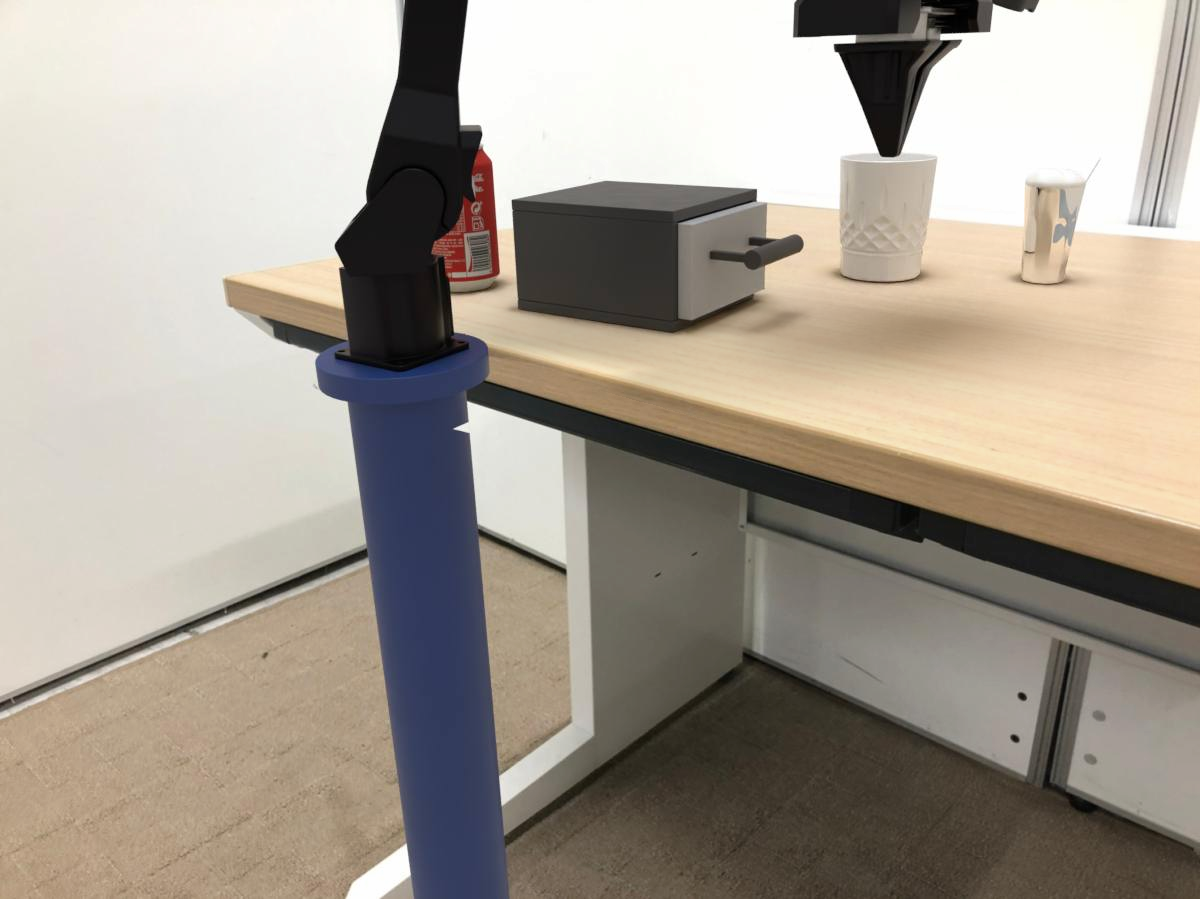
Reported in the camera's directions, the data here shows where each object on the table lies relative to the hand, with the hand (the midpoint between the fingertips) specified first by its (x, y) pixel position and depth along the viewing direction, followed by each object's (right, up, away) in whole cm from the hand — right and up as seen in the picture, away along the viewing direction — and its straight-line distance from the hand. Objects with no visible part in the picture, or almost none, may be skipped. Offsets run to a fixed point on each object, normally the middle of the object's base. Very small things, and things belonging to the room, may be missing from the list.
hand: (890, 156), depth 64 cm
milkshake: (+19, -5, +18) cm, 27 cm away
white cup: (+6, -4, +23) cm, 24 cm away
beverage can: (-31, -5, +23) cm, 39 cm away
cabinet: (-16, -7, +15) cm, 23 cm away
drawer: (-13, -7, +13) cm, 20 cm away
